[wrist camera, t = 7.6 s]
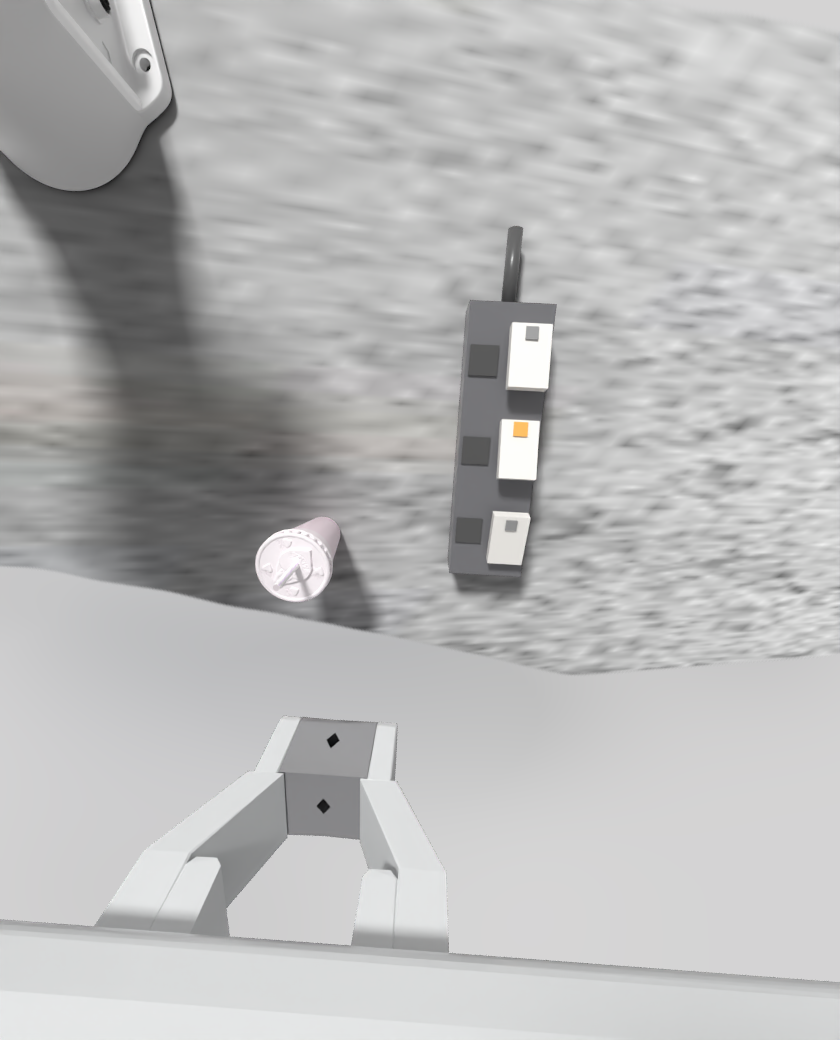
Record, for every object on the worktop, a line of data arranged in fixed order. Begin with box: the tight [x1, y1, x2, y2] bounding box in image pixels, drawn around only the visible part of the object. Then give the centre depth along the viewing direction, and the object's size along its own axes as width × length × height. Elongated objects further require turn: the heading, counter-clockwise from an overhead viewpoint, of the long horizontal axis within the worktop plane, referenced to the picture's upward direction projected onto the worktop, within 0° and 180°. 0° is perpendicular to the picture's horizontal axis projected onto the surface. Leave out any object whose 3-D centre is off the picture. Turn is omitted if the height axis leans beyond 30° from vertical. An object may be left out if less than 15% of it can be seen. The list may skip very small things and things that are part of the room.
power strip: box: [448, 226, 557, 577], centre depth 36 cm, size 30×7×4 cm, turn 177°
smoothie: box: [255, 517, 341, 602], centre depth 35 cm, size 6×6×14 cm
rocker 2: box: [496, 419, 540, 481], centre depth 33 cm, size 5×3×1 cm, turn 178°
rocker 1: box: [506, 322, 553, 392], centre depth 31 cm, size 5×3×1 cm, turn 178°
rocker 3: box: [486, 511, 531, 565], centre depth 35 cm, size 5×3×1 cm, turn 177°
